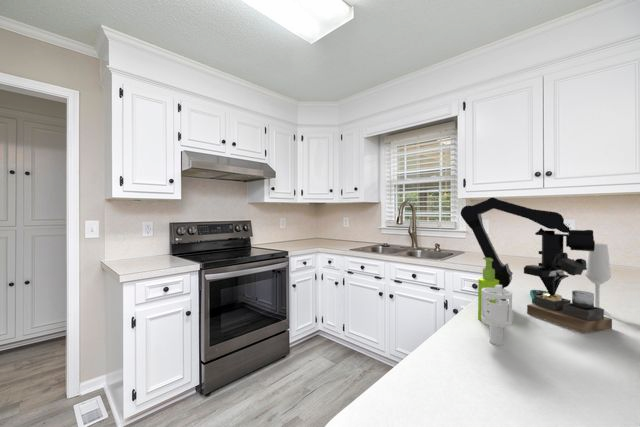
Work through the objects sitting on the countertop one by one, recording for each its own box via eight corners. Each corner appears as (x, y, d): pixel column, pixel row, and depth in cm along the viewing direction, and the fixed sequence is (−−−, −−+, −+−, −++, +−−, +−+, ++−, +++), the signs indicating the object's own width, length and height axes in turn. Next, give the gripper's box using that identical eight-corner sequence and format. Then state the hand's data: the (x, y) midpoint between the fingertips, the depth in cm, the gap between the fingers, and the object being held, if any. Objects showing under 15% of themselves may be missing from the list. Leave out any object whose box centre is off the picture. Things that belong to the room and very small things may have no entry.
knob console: (583, 333, 84) (584, 312, 84) (527, 313, 100) (527, 296, 100) (611, 328, 87) (612, 308, 87) (552, 310, 104) (552, 293, 104)
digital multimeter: (551, 298, 120) (551, 291, 120) (556, 308, 107) (556, 300, 107) (529, 295, 124) (529, 288, 124) (532, 304, 111) (532, 297, 111)
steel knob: (586, 308, 86) (586, 295, 86) (568, 303, 91) (568, 291, 91) (598, 307, 88) (598, 294, 88) (579, 302, 93) (579, 289, 93)
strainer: (514, 342, 78) (514, 286, 78) (508, 351, 73) (508, 291, 73) (485, 334, 83) (485, 282, 83) (477, 342, 78) (478, 286, 78)
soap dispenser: (495, 316, 97) (496, 257, 97) (501, 324, 91) (501, 260, 90) (476, 314, 99) (476, 256, 99) (480, 321, 93) (480, 259, 92)
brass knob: (554, 309, 95) (554, 297, 95) (539, 305, 100) (539, 293, 100) (565, 308, 96) (565, 296, 96) (549, 303, 101) (549, 292, 101)
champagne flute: (589, 307, 107) (590, 242, 106) (614, 313, 101) (615, 244, 100) (580, 310, 104) (581, 243, 104) (605, 316, 98) (605, 245, 98)
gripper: (557, 253, 88) (557, 304, 88) (600, 251, 93) (599, 299, 93) (522, 248, 98) (522, 294, 98) (562, 246, 104) (562, 290, 104)
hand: (552, 295), depth 98 cm, fingers closed, pressing on brass knob
